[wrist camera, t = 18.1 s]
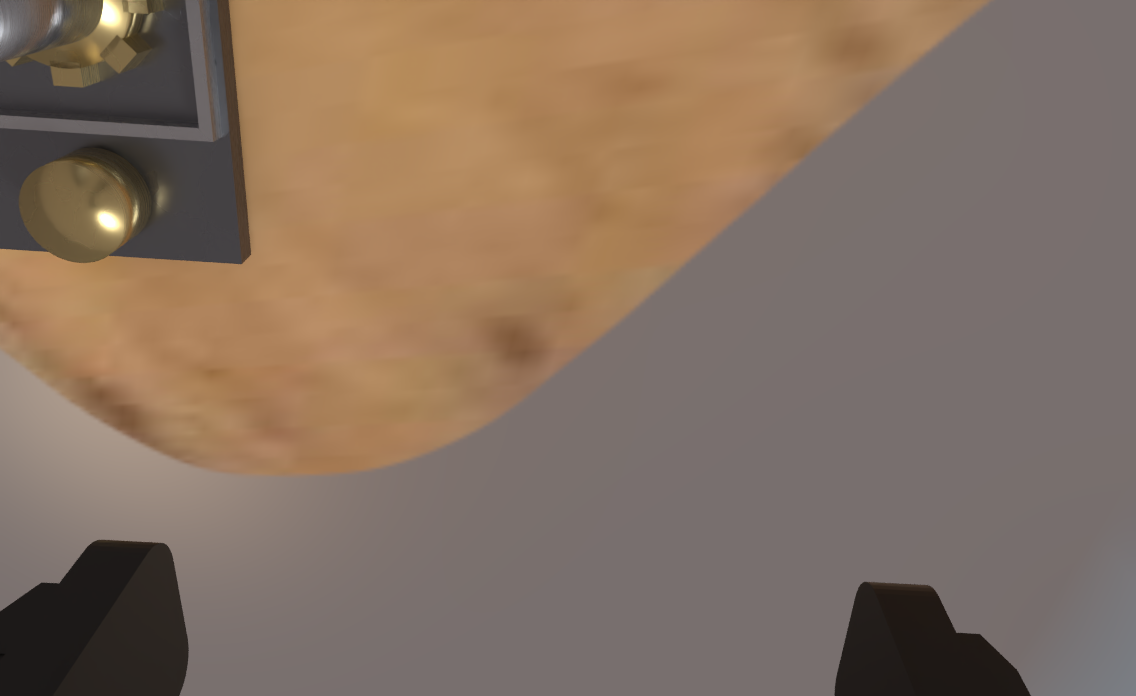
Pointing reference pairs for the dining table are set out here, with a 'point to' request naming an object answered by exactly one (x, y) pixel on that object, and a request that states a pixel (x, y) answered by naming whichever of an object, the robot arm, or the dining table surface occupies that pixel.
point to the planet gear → (75, 36)
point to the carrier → (130, 150)
